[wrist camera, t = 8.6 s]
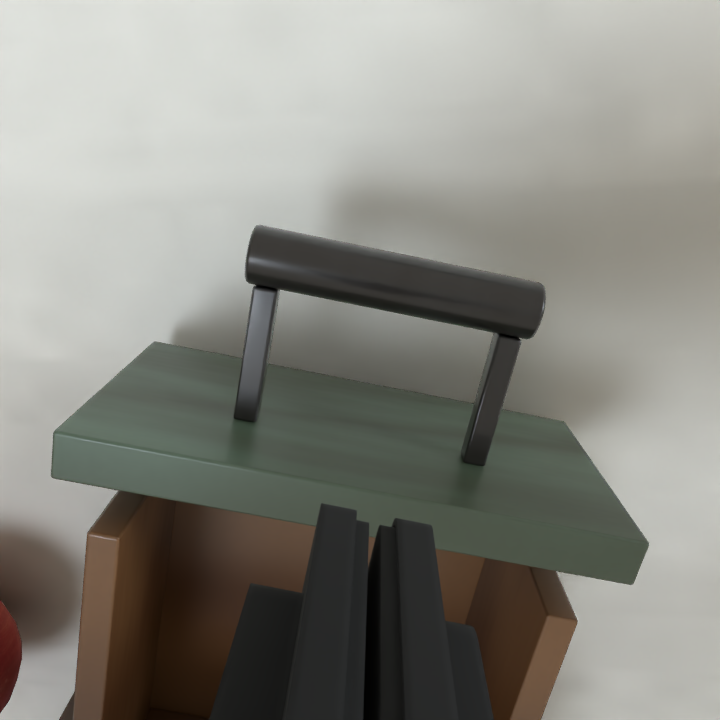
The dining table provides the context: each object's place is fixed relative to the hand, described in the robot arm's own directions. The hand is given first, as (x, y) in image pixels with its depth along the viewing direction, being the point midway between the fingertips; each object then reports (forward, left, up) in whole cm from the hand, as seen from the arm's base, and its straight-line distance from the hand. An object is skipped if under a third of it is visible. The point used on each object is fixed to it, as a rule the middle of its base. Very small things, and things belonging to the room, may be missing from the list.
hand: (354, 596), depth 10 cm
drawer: (+6, +2, -12) cm, 13 cm away
